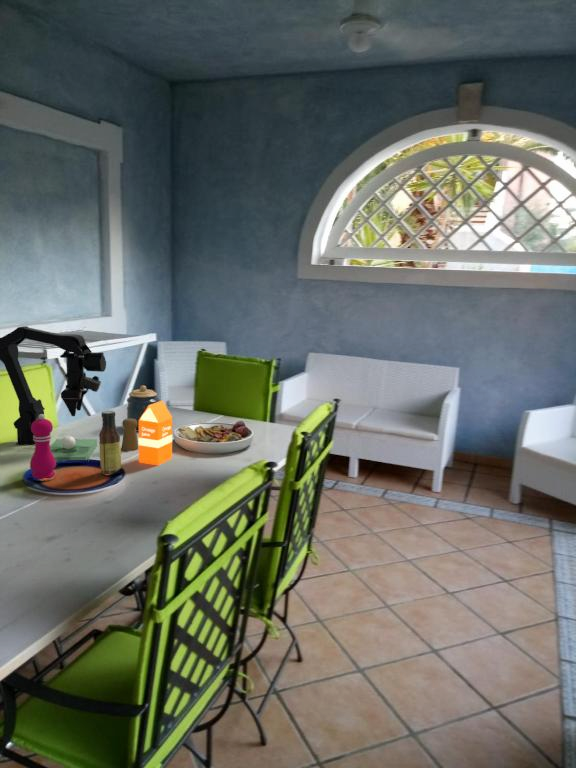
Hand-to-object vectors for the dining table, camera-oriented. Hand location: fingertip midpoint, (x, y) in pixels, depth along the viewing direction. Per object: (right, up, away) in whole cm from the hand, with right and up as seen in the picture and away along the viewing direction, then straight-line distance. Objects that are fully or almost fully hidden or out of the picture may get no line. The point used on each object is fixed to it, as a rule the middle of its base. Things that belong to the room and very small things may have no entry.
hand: (76, 413), depth 206 cm
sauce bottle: (+20, -18, -26) cm, 38 cm away
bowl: (+48, -13, +11) cm, 51 cm away
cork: (+19, -13, +1) cm, 23 cm away
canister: (+16, -8, +30) cm, 35 cm away
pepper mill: (+2, -18, -33) cm, 38 cm away
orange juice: (+31, -16, -11) cm, 37 cm away
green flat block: (+2, -14, -9) cm, 17 cm away
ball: (+2, -9, -11) cm, 15 cm away
